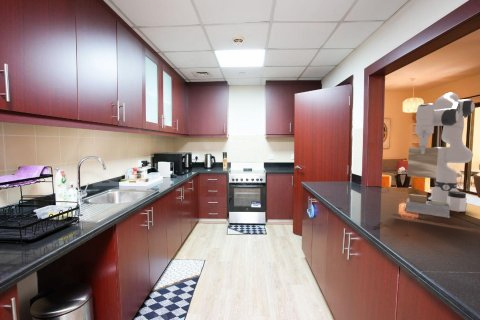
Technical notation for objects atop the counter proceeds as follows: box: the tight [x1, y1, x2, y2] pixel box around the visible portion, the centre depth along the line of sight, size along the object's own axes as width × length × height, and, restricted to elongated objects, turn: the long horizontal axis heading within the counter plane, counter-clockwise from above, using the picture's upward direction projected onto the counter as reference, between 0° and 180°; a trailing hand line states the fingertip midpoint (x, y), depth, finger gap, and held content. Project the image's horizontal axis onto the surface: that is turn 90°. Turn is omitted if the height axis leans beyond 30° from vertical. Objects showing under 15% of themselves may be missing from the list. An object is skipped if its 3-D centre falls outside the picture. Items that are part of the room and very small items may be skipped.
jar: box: [447, 191, 468, 212], centre depth 147 cm, size 9×8×12 cm
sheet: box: [406, 146, 438, 179], centre depth 146 cm, size 2×14×18 cm, turn 53°
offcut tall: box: [409, 193, 428, 203], centre depth 145 cm, size 2×8×9 cm, turn 52°
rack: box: [405, 198, 451, 219], centre depth 144 cm, size 16×20×6 cm
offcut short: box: [431, 200, 445, 206], centre depth 140 cm, size 2×6×7 cm, turn 52°
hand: (422, 153), depth 146 cm, fingers closed on sheet, 2 cm apart
